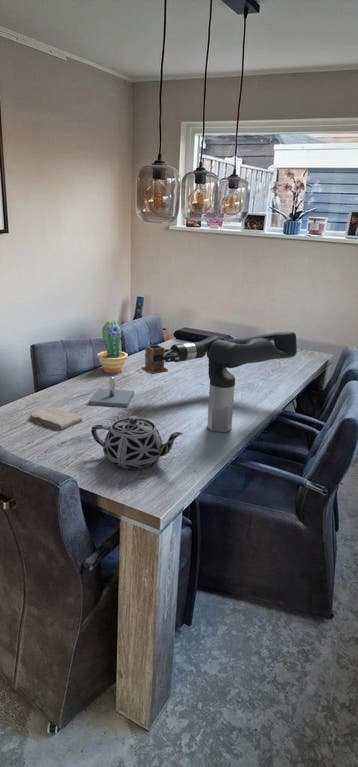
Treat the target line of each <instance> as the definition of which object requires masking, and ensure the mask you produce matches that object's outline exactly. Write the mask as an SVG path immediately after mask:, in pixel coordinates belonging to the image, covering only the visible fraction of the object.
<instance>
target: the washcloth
mask: <svg viewBox="0 0 358 767" xmlns="http://www.w3.org/2000/svg"><path fill="white" fill-rule="evenodd" d="M28 418H29V419H30V420H32V421H34V420H35V421H34V422H36V423H38V424H42V425H44V426H47V427H50V428H53V429H55V430H61V431H62V430H64V429H66V428H68V427H71V426H73V425H76V424H78V423H81V422H82V421H83V420H84V419H83V417H82V416H81V415H78V414H76V413H72V412H70V411H66V409H65V410H64V409H61V408H57V406H55V407H54V406H48V407H46V408H44V409H42V410H36V411H34V412H32V413H30V414H29V417H28Z"/></svg>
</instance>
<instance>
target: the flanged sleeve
mask: <svg viewBox="0 0 358 767" xmlns="http://www.w3.org/2000/svg"><path fill="white" fill-rule="evenodd" d="M164 349H165V347H164V346H161V345H159V344H152V345H145V350H144V351H145V353H144V357H145V358H144V363H145V364H144V366H140V369H141V370H142V371H144V372H146V373H148V374H150V375H156V374H162V373H168V372H169V369H168V368H166V367H165V361H157V362H154V361H153V356H159V355H164Z"/></svg>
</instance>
